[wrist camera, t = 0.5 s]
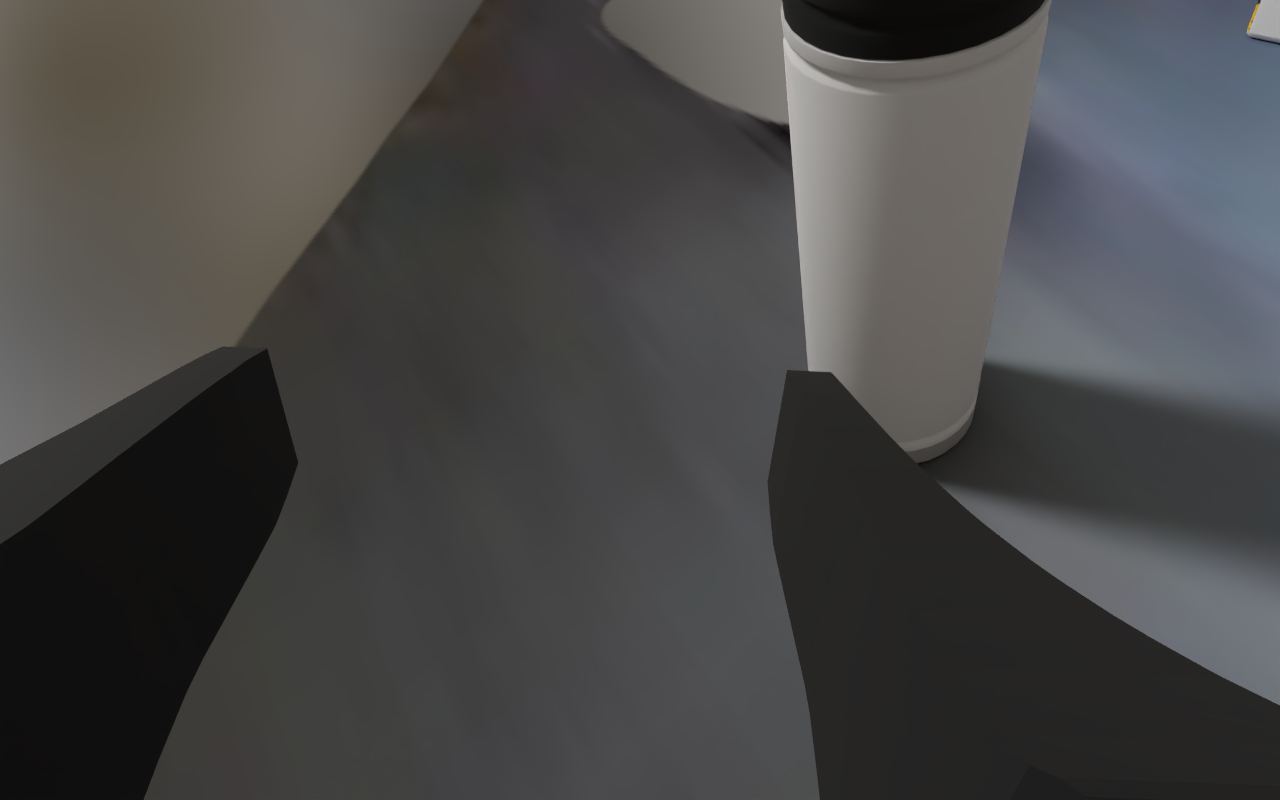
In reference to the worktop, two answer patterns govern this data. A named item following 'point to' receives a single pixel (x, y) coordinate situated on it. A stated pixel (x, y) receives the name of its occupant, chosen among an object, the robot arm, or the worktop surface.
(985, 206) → the travel mug
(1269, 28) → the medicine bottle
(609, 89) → the worktop surface
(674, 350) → the worktop surface
